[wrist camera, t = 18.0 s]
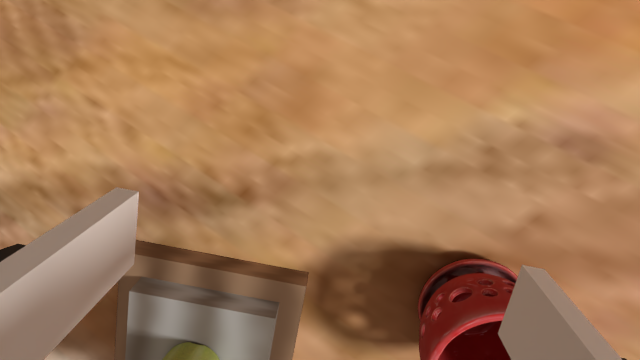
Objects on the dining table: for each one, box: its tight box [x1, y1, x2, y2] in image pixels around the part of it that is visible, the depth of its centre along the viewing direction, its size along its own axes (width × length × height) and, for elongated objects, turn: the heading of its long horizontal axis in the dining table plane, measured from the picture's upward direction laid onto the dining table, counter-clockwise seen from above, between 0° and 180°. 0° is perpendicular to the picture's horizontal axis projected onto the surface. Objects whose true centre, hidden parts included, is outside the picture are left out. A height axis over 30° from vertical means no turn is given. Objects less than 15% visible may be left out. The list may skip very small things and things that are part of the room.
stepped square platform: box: [114, 240, 308, 360], centre depth 51 cm, size 20×20×6 cm
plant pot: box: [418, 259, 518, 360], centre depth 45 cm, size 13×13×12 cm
